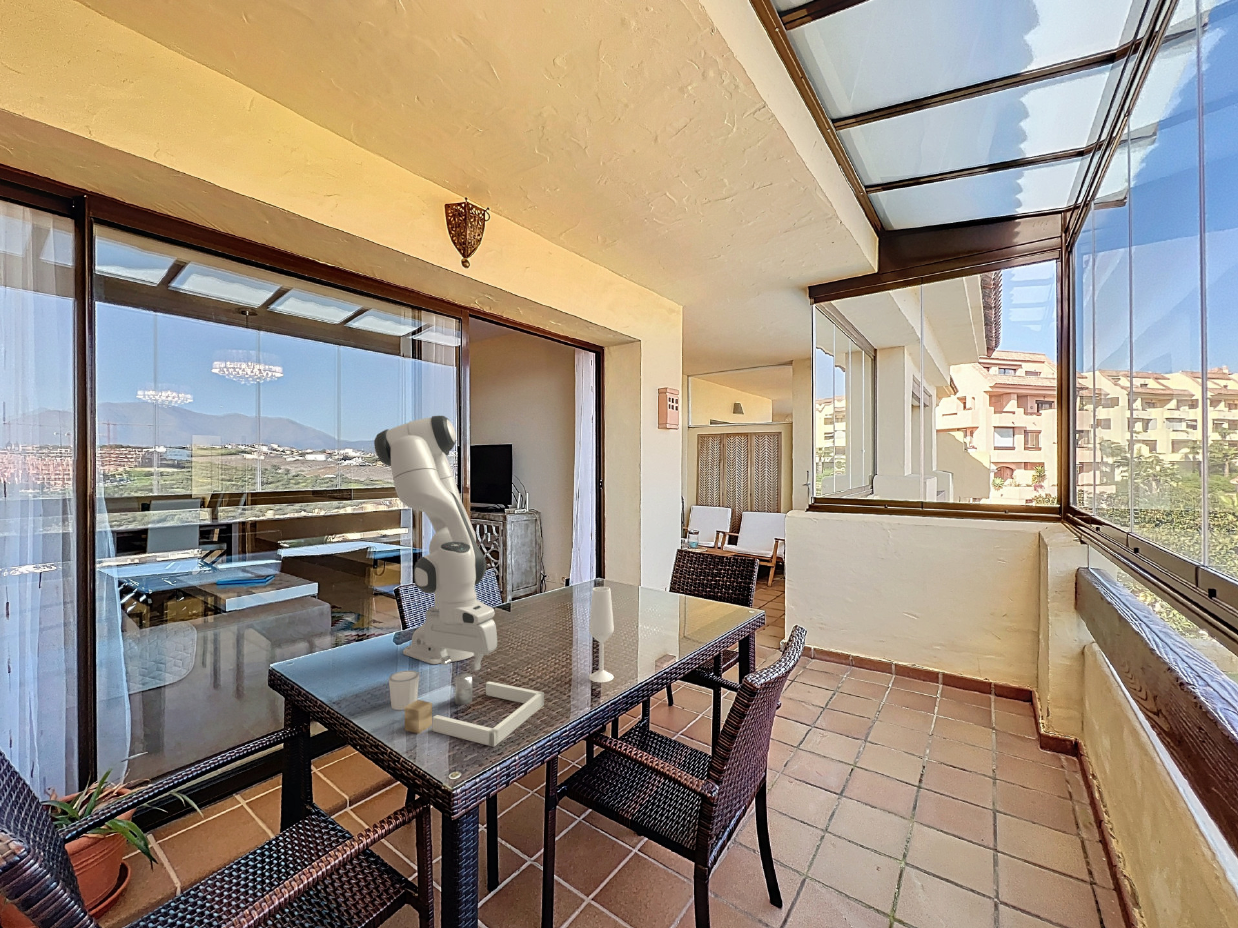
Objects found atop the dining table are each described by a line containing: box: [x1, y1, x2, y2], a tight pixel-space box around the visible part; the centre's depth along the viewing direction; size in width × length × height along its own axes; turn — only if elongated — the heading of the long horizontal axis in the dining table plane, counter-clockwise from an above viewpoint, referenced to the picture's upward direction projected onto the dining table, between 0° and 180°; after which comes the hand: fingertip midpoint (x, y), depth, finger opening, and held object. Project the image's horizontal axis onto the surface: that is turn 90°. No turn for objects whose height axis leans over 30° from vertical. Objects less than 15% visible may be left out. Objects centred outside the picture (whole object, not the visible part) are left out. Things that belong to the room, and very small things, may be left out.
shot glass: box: [388, 669, 420, 711], centre depth 128 cm, size 7×7×7 cm
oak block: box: [404, 699, 433, 735], centre depth 117 cm, size 4×4×5 cm
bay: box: [432, 681, 545, 747], centre depth 122 cm, size 16×20×3 cm
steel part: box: [454, 672, 473, 706], centre depth 129 cm, size 4×4×6 cm
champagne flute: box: [588, 586, 615, 683], centre depth 144 cm, size 7×7×24 cm
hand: (460, 666), depth 129 cm, fingers open, 8 cm apart
